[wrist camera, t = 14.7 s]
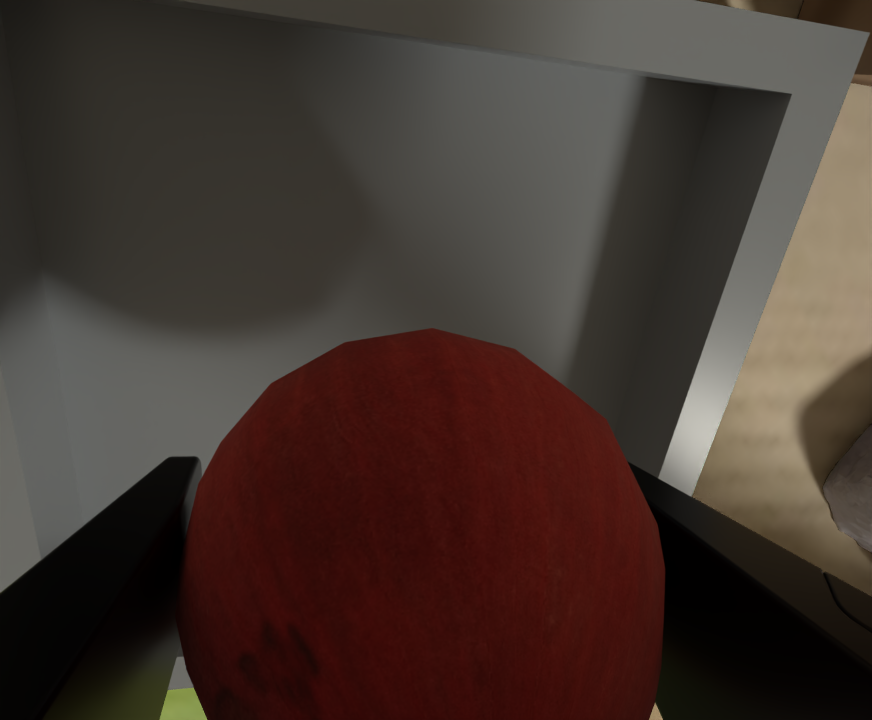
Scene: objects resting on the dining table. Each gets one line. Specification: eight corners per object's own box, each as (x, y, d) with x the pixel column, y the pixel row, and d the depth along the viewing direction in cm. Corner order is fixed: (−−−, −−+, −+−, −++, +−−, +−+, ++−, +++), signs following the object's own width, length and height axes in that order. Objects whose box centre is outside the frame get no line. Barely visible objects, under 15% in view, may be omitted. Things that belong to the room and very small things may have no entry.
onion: (339, 576, 13) (379, 1225, 6) (147, 375, 10) (-247, 1150, 3) (583, 438, 12) (954, 954, 5) (453, 189, 9) (865, 569, 2)
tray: (585, 562, 18) (633, 648, 15) (66, 588, 15) (15, 703, 12) (747, 37, 12) (869, 32, 9) (-64, -105, 9) (-219, -170, 6)
